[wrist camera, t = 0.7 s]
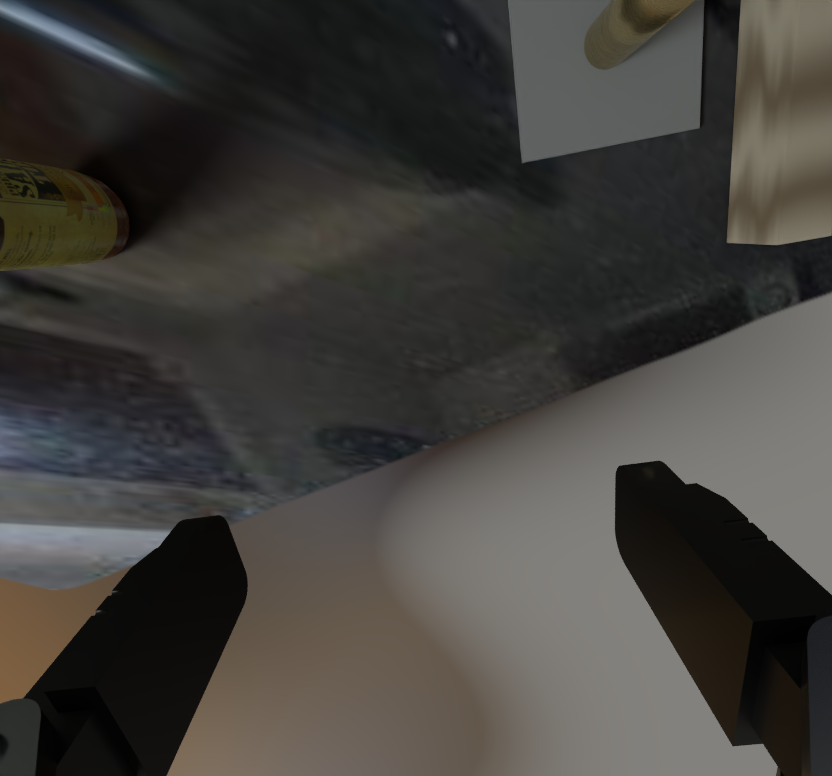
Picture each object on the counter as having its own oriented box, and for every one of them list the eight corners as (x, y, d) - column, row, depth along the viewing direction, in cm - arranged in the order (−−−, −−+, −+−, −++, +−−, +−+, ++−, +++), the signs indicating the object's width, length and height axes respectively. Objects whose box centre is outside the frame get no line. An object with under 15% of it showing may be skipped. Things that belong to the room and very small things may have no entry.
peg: (582, 19, 28) (663, -86, 19) (631, 8, 28) (737, -104, 18) (585, 74, 29) (662, 0, 20) (631, 64, 29) (732, -15, 19)
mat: (503, -50, 27) (504, -53, 27) (703, -96, 26) (707, -101, 26) (521, 163, 31) (523, 162, 31) (696, 129, 30) (699, 127, 30)
